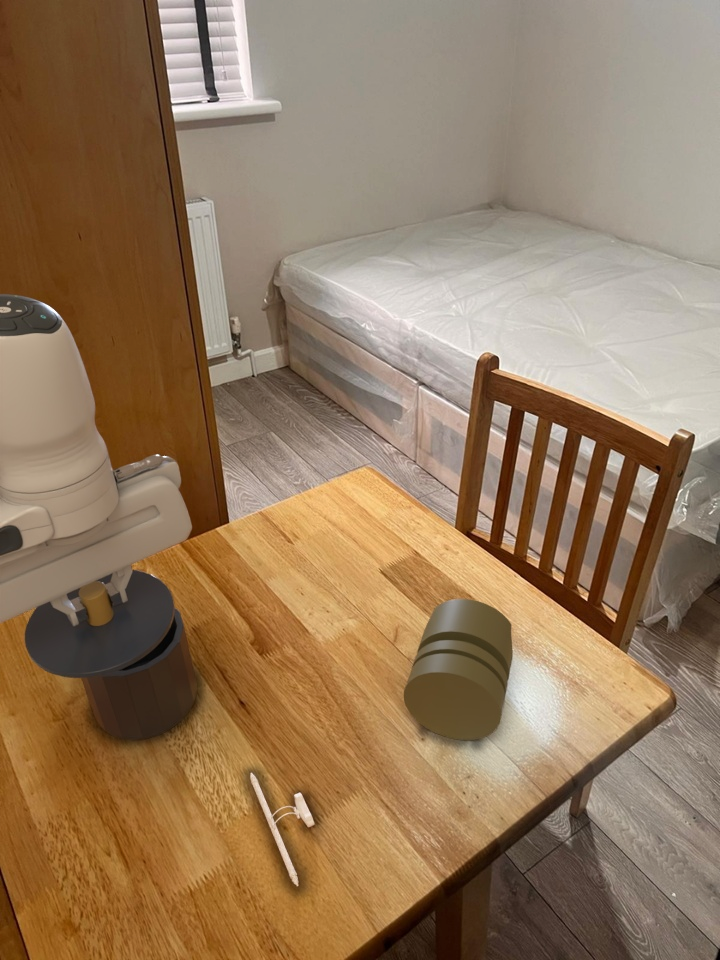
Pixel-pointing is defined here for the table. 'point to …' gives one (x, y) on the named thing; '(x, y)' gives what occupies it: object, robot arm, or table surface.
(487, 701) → the piston
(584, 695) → the table surface
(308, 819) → the picture light
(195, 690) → the tin
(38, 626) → the tin lid
